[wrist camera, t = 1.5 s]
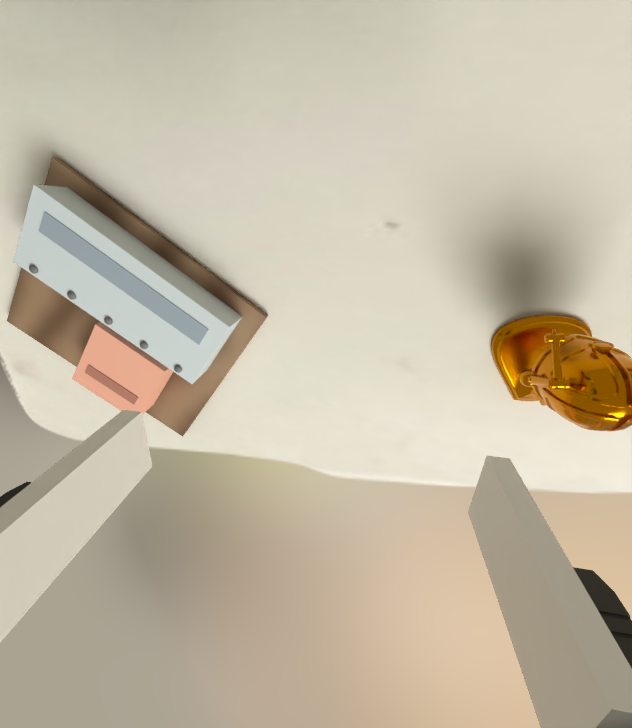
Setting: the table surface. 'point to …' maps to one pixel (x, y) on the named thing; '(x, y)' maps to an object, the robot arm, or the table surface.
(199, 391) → the backing board
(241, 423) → the table surface
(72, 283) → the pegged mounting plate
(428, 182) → the table surface
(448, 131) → the table surface
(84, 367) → the stub
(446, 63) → the table surface
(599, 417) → the figurine
